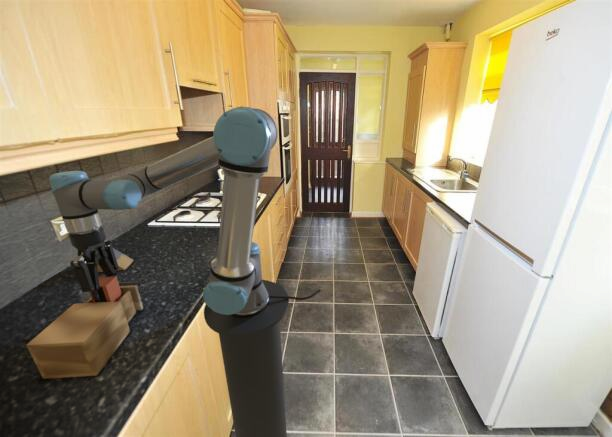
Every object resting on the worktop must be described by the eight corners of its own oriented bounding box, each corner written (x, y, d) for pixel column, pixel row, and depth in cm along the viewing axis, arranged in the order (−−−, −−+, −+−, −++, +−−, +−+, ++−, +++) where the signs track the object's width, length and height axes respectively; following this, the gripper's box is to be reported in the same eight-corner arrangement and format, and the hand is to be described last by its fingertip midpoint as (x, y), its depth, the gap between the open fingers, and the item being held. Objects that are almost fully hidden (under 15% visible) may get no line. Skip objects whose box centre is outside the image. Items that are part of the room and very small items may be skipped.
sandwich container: (125, 270, 112) (115, 237, 107) (85, 273, 110) (73, 240, 105) (134, 260, 120) (126, 229, 115) (97, 262, 118) (87, 231, 113)
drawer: (117, 298, 93) (110, 276, 90) (151, 296, 94) (146, 275, 90) (76, 342, 75) (65, 316, 72) (118, 339, 76) (110, 314, 72)
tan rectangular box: (85, 333, 79) (74, 303, 75) (130, 331, 80) (120, 301, 76) (42, 378, 65) (25, 345, 62) (97, 375, 66) (83, 342, 62)
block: (122, 295, 83) (116, 276, 81) (112, 306, 78) (105, 286, 76) (105, 296, 83) (99, 276, 80) (94, 307, 78) (87, 286, 76)
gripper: (93, 218, 80) (114, 283, 89) (42, 244, 64) (73, 322, 72) (119, 217, 81) (137, 282, 89) (75, 243, 64) (102, 321, 72)
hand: (109, 300), depth 80 cm, fingers closed on block, 5 cm apart
